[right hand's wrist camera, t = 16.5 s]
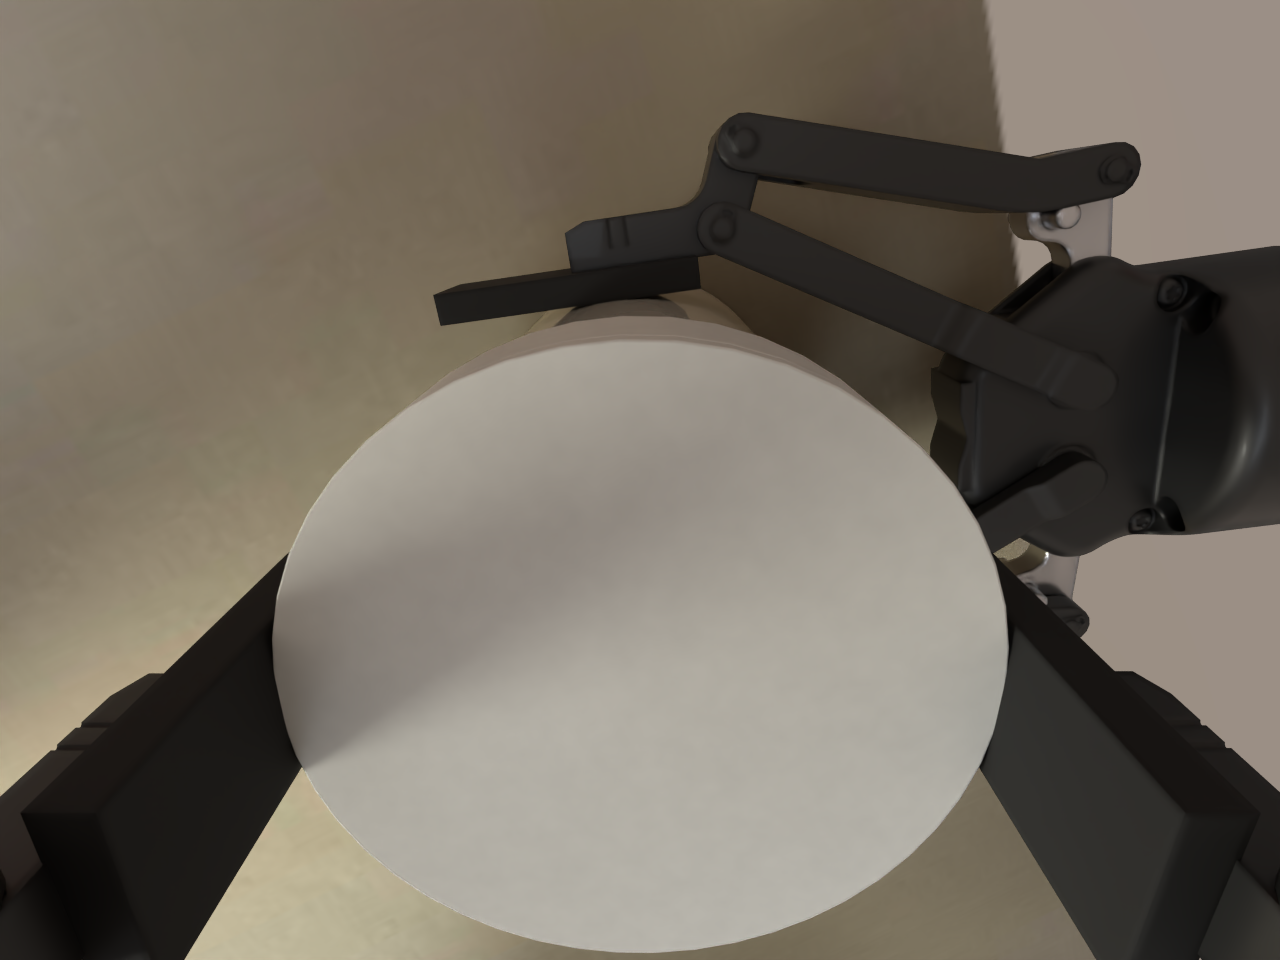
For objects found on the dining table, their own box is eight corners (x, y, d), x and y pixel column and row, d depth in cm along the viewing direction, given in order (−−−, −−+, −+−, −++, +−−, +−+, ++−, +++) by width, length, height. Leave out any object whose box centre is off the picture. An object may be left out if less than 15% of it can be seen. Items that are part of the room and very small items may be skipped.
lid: (755, 162, 10) (786, 149, 8) (1043, 699, 13) (1115, 787, 11) (198, 543, 12) (108, 611, 10) (565, 922, 15) (554, 1030, 13)
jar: (826, 418, 26) (1071, 689, 11) (633, 576, 28) (626, 970, 14) (648, 211, 23) (663, 207, 9) (452, 403, 26) (201, 660, 11)
